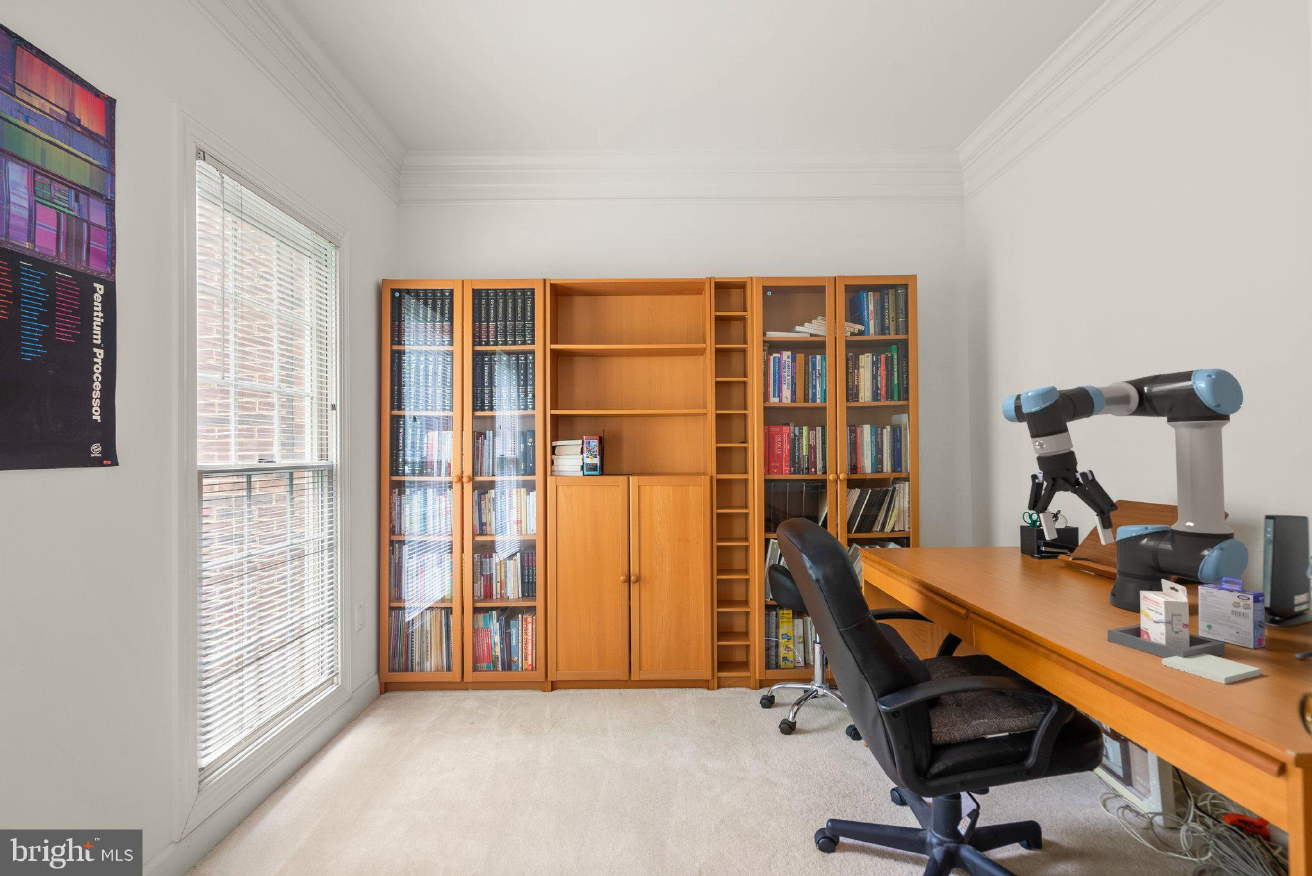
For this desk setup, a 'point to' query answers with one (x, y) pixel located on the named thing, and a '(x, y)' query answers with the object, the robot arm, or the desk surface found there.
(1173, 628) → the ink cartridge box
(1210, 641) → the dock
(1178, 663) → the board
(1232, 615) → the ink cartridge box
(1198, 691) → the desk surface
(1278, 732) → the desk surface
